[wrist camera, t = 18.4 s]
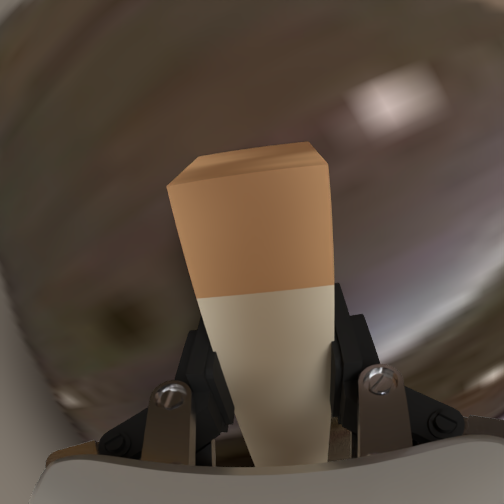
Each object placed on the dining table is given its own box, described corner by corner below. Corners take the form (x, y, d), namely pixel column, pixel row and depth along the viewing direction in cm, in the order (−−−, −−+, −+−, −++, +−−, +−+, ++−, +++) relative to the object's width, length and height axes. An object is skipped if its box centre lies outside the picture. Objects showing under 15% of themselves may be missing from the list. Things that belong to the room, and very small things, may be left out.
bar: (308, 141, 9) (327, 164, 6) (319, 464, 19) (322, 503, 16) (199, 156, 10) (166, 186, 7) (273, 468, 20) (272, 507, 17)
